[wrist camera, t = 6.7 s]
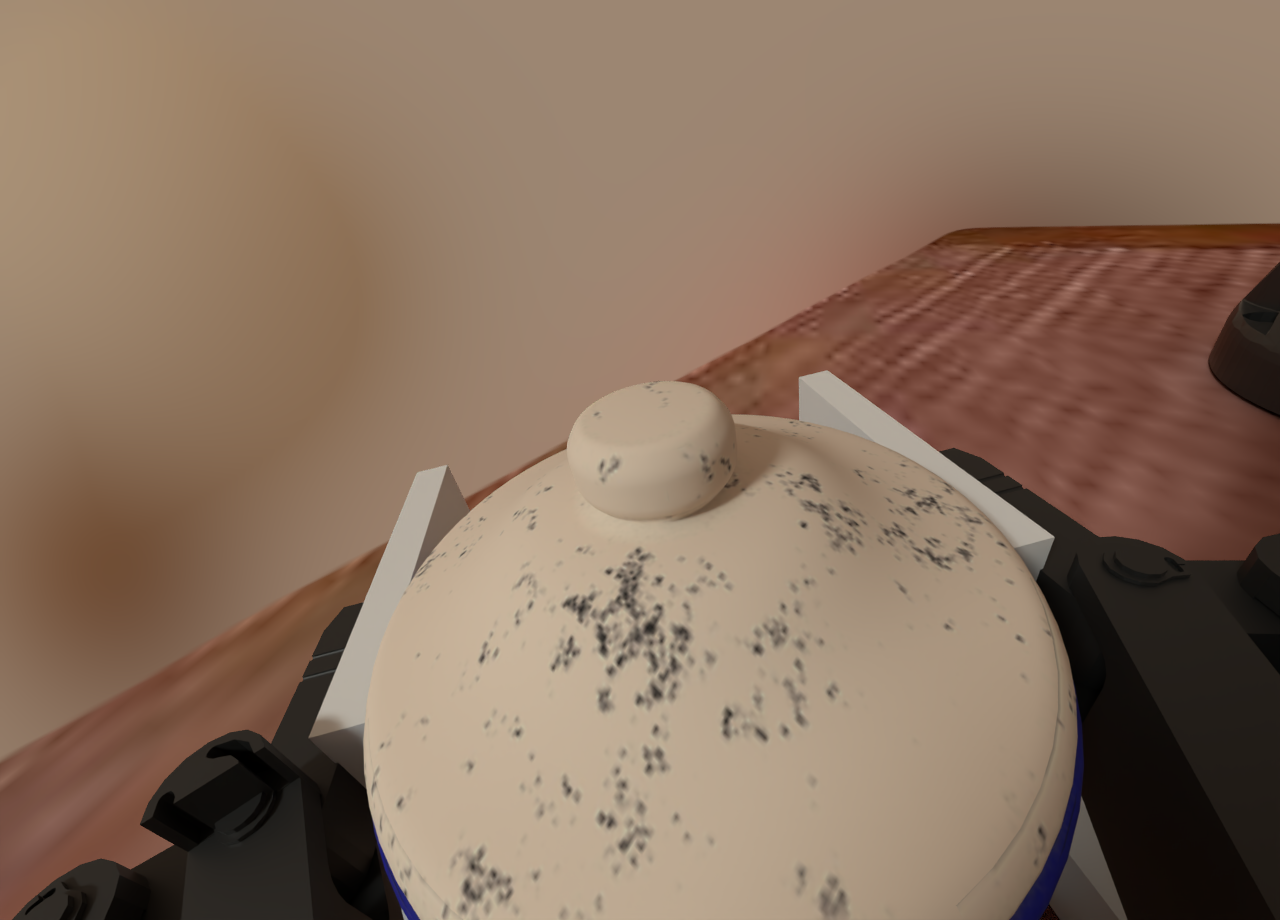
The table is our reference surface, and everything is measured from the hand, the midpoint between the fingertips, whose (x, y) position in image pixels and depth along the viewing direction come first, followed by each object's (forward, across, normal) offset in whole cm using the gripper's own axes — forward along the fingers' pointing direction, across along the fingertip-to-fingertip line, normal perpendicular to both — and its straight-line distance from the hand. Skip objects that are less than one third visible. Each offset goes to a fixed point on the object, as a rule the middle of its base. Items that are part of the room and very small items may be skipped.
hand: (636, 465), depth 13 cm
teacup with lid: (-4, -1, -7) cm, 9 cm away
